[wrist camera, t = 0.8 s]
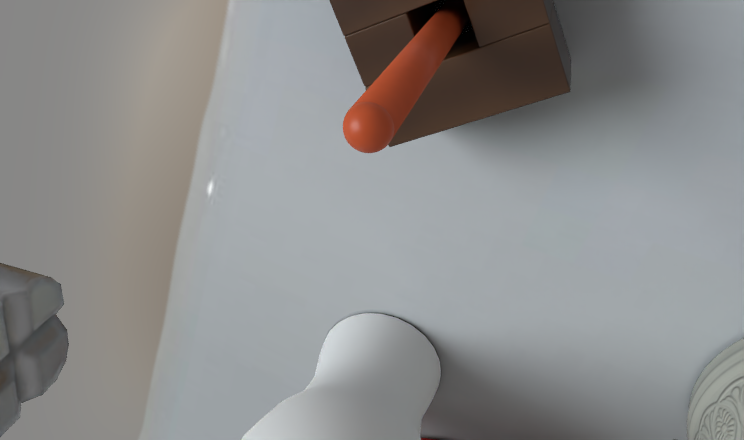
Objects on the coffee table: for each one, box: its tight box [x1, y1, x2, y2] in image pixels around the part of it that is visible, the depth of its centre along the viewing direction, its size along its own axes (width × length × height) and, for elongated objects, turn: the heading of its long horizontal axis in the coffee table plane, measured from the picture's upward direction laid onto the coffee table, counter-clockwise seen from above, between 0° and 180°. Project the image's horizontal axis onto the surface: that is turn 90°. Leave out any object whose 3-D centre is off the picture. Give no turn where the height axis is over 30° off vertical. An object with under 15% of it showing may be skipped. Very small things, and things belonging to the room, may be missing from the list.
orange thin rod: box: [343, 0, 470, 153], centre depth 26 cm, size 1×1×18 cm
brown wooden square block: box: [330, 0, 571, 147], centre depth 32 cm, size 8×8×5 cm
